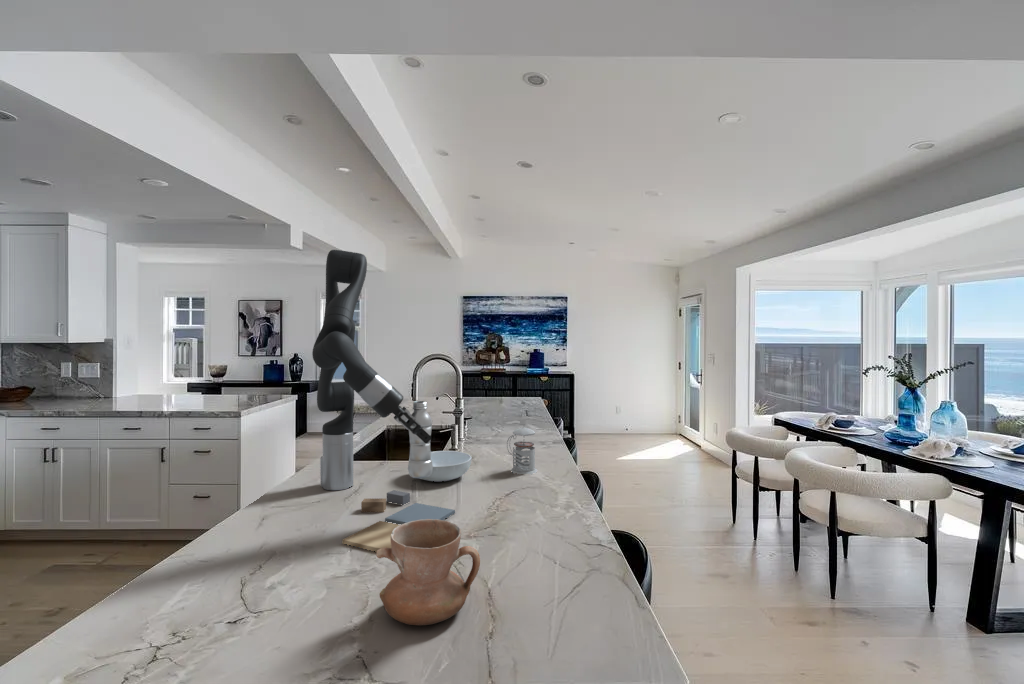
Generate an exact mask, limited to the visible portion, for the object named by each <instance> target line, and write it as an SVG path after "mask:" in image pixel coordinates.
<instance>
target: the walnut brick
mask: <svg viewBox="0 0 1024 684" xmlns="http://www.w3.org/2000/svg"><path fill="white" fill-rule="evenodd" d="M360 506H361V509H360V511H361V512H360V513H384V512H385V511H386V509H387V497H385V498H363V500H362V501H361V505H360ZM384 510H385V511H384Z"/></svg>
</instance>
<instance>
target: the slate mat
mask: <svg viewBox="0 0 1024 684" xmlns="http://www.w3.org/2000/svg"><path fill="white" fill-rule="evenodd" d="M454 513H455V514H456V509H451V508H446V507H441V506H440V507H439V506H435V505H430V504H424V503H417V502H415V503H413V504H410V505H409V506H407V507H405V508H403V509H401V510H398V511H397V512H394V513H393V514H390V515H389V516H387V517H385V518H384V522H385V521H387V522H392V523H396V524H404V523H407V522H411V521H416V520H422V519H438V520H444V519H445V518H447V517H448V518H450V517H451V516H450V515H452V514H453V515H455V514H454ZM453 515H452V516H453ZM449 516H450V517H449ZM448 518H447V519H448ZM445 520H446V519H445ZM445 520H444V521H445Z"/></svg>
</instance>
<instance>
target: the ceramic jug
mask: <svg viewBox="0 0 1024 684" xmlns="http://www.w3.org/2000/svg"><path fill="white" fill-rule="evenodd" d="M461 539H462V529H461V528H460V526H458V525H457V524H456V523H454V522H451V521H448V520H438V519H422V520H416V521H411V522H407V523H404V524H401V525H399V526H397V527H396V528H395V529H394V530H393V531H392V534H391V547H392V548H387V547H386V548H381V549H379V550H377V552H376V557H377V558H378V559H382V558H386V559H388V560H389V561H391V562H393V563H395V564H397V567H398V570H399V571H400V572H399V573H398V574H396V575H395V576H393V578H392V579H391V580H390V581H388V583H387V584H386V586H385V587H384V588H382V590H380V592H379V598H380V600H381V602H382V604H383V608H384V609H385V611H386V613H387V614H388V615H389V616H390V617H391V618H392V619H394V620H395V621H398V622H399V623H401V624H405V625H410V626H428V625H434V624H435V625H436V624H438V623H440V622H444V621H446V620H448V619H450V618H451V617H453V616H455V615H456V614H457V613H458V612H460V610H461V609H462V608H463V607H464V605H465V603H466V600H467V597H468V596H469V593H470V591H471V586H472V584H473V582H474V581H475V579H476V577H477V575H478V573H479V570H480V566H481V557H480V553H479V552H478V550H477V549H476V547H472V546H469V545H465V546H462V547H460V544H461V543H460V542H461ZM465 555H469V556H470V557H471V559H472V561H471V562H472V566H471V569H470V571H469V574H468V577H467V578H466V581H464V580H463V579H462V577H460V575H458V574H457V573H456V572H454V571H453V570H451V568H452V566H453V564H454V563H455V561H457V560H458V559H459V558H461V557H463V556H465Z"/></svg>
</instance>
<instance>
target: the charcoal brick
mask: <svg viewBox="0 0 1024 684" xmlns="http://www.w3.org/2000/svg"><path fill="white" fill-rule="evenodd" d="M410 494H411V493H410V492H406V491H400V490H394V489H393V490H390V491H388V492H386V503H387V502H392V503H397V504H402V505H404V504H406V503H408V502H410V503H411V495H410ZM408 504H409V503H408ZM406 505H407V504H406ZM404 506H405V505H404Z"/></svg>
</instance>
